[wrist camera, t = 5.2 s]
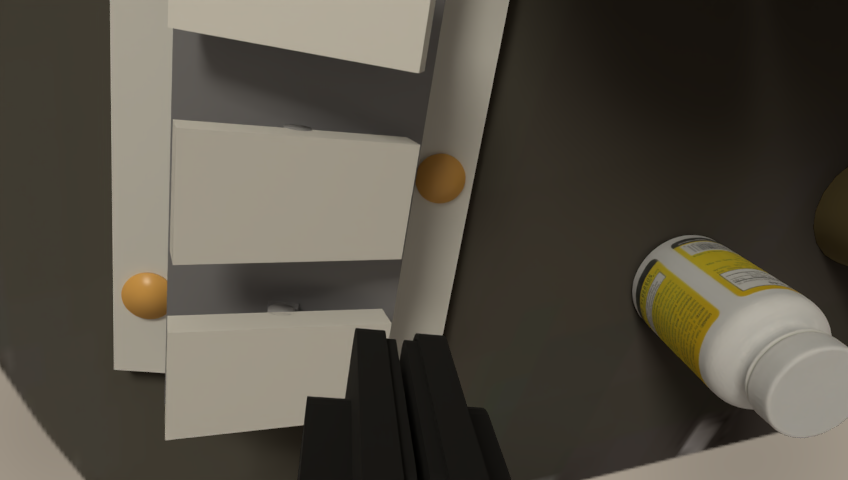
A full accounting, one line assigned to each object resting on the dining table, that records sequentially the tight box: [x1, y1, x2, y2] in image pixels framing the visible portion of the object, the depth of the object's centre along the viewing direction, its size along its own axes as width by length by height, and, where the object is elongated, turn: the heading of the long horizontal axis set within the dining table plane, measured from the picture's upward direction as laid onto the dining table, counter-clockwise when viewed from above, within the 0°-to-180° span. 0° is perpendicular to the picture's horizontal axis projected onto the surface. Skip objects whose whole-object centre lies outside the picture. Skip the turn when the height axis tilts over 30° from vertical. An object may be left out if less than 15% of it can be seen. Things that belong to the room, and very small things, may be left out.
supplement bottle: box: [632, 235, 848, 438], centre depth 27 cm, size 5×5×10 cm
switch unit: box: [110, 0, 509, 397], centre depth 24 cm, size 15×22×4 cm
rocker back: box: [165, 303, 392, 440], centre depth 23 cm, size 8×4×2 cm, turn 82°
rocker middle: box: [170, 119, 420, 265], centre depth 21 cm, size 8×4×2 cm, turn 82°
